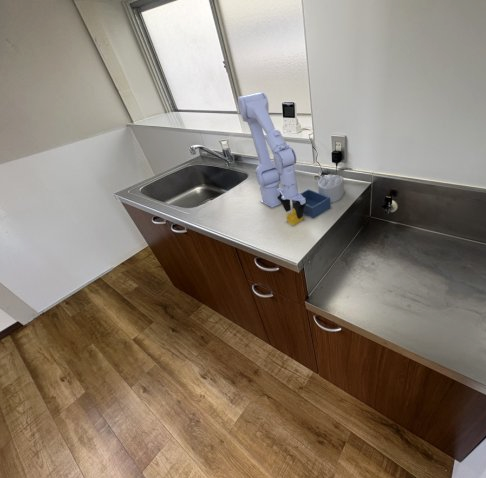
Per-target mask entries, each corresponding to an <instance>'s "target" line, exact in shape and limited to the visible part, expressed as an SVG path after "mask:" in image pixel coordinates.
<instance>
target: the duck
mask: <svg viewBox="0 0 486 478" xmlns="http://www.w3.org/2000/svg"><path fill="white" fill-rule="evenodd" d="M292 209H293V210H292V212H290V213H288V214H286V215H285V217H286V222H287V223H288V224H290V225H292V226H295V225H297V224H299V223H301V222H302V221H304V216H303V217H301V218H300V219H298V217H297V214H296V211H295V209H294V208H292Z"/></svg>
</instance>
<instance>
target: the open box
mask: <svg viewBox="0 0 486 478" xmlns="http://www.w3.org/2000/svg"><path fill="white" fill-rule="evenodd" d="M299 193H300V194H301V195H302V196H303V197H304V198H305V200H306V201H307V203H306V205H305V207H304V211H303V215H306V216H308V217H309V218H311V219H316V218H318V216H320V215H322V214H323V213H325V212H327V211H328V210H330V209H332V208H331V207H332V206H331V203H330V198H329V197H327V196H324V195H322V194H319V192H316V191H314V190H313V189H310V188H308V189H306V190H304V191H302V192H299ZM294 203H296V201H295V200H291V205H292V204H294ZM292 209H294V207H293V206H292Z"/></svg>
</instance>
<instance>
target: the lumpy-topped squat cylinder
mask: <svg viewBox="0 0 486 478" xmlns="http://www.w3.org/2000/svg"><path fill="white" fill-rule="evenodd" d="M317 190H318V192H317V193H319V194H322V195H324V196H327V197H329V198H330V204H331V203H335V202H337V201H339V200H340V199H342V197H343V196H344V193H345V183H344V177H343V176H341V175H338V174H326V175H323V176H321V177H320V178H319V179H318V182H317Z"/></svg>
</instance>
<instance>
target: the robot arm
mask: <svg viewBox="0 0 486 478" xmlns="http://www.w3.org/2000/svg"><path fill="white" fill-rule="evenodd" d="M237 106H238V110H239V114H240V116H241V119H242V121H243V122H245V123H247V125H248V127H249V131H250V134H251V138H252V141H253V145H254V148H255V152H256V156H257V158H258V162H259V164H258V165H257V167H256V168H255V169H254V171H255V178H256V181H257V183H258V185H259V191H260V195H261V200H260V201H261V203H262V204H265V205H266V206H268V207H270V208H272V209H273V208H275V207H277V206H279V205H282V207H283V210H284V211H285V213H288V212H290V211H291V210H292V209H291V207H292V208H293V207H294V208H293V209H295V211H296V214H297V217H298V219H300V218H301V217H303V218H304V213H303V211H304V207H305V205H306V203H307V201H306V200H305V198H304V197H303V196H302V195H301V194H300V193H301V192H299V189H298V181H297V174H296V168H295V165H296V163H297V154H296V152H295V150H294V149H293V147H292V146H290V145H289V144H287V142H286V140H285V138H284V136H283V134H282V132H281V131H280V130H279V129H276V127H275V125H274V122H273V121H272V118H271V115H270V113H269V110H270V109H269V107H270V106H269V100H268V97H267V94H265V92H263V91H261V92H257V93H253V94H248V95H243V96H238V99H237ZM265 135H266V136H265ZM268 147H269V149H270V151H271V153H272V155H273V161H272V159H271V157H270V152H269V149H268ZM280 185H281V186H280ZM292 200H295V201H296V203H294V204H292V203H291V201H292Z"/></svg>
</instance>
